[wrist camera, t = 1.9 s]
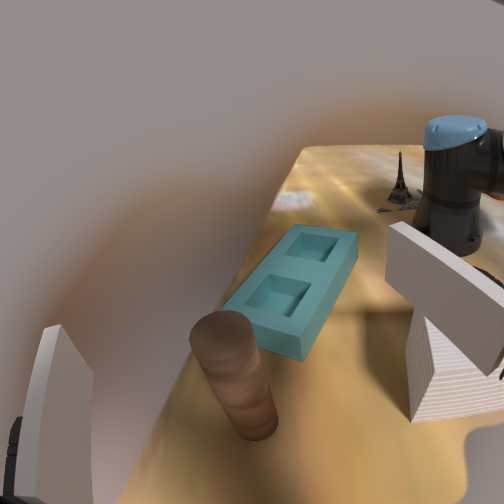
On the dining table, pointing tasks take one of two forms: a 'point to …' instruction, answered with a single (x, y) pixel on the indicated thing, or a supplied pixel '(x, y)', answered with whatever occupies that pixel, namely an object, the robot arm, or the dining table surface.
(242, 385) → the walnut pin
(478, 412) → the stack of papers
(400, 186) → the eiffel tower figurine
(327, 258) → the bore block
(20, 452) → the robot arm
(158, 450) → the dining table surface
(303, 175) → the dining table surface
